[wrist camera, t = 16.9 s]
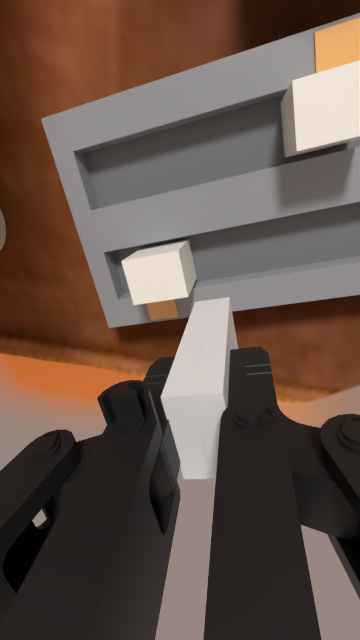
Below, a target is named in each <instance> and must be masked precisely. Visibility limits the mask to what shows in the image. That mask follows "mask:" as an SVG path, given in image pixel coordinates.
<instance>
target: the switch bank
mask: <svg viewBox="0 0 360 640" xmlns="http://www.w3.org/2000/svg"><path fill="white" fill-rule="evenodd" d="M359 60H360V13H358V14H355V15H352V16H349V17H346V18H343V19H340V20H337V21H334V22H331V23H328V24H325V25H322V26H319V27H316V28H313V29H310V30H307V31H304V32H301V33H298V34H295V35H291V36H288V37H285V38H282V39H279V40H276V41H273V42H270V43H267V44H264V45H261V46H258V47H255V48H252V49H249V50H246V51H243V52H240V53H237V54H234V55H231V56H228V57H225V58H222V59H219V60H216V61H213V62H210V63H207V64H204V65H201V66H198V67H195V68H192V69H189V70H186V71H183V72H180V73H177V74H174V75H171V76H168V77H165V78H162V79H159V80H156V81H153V82H150V83H147V84H144V85H141V86H138V87H135V88H132V89H129V90H126V91H123V92H120V93H117V94H114V95H111V96H108V97H105V98H102V99H99V100H96V101H93V102H90V103H87V104H84V105H81V106H78V107H75V108H72V109H69V110H66V111H63V112H60V113H57V114H54V115H51V116H48V117H45V118H42V119H41V121H42V124H43V127H44V130H45V133H46V136H47V139H48V142H49V145H50V148H51V151H52V154H53V158H54V161H55V164H56V167H57V170H58V173H59V176H60V179H61V182H62V185H63V188H64V191H65V194H66V197H67V201H68V204H69V207H70V210H71V213H72V216H73V219H74V222H75V225H76V228H77V231H78V234H79V237H80V240H81V244H82V247H83V250H84V253H85V256H86V259H87V262H88V265H89V268H90V271H91V274H92V277H93V280H94V283H95V287H96V290H97V293H98V296H99V299H100V302H101V305H102V308H103V311H104V314H105V317H106V320H107V323H108V326H109V328H112V327H120V326H127V325H135V324H142V323H150V322H157V321H165V320H173V319H180V318H188V317H190V314H191V312H192V309H193V306H194V303H195V302H198V301H205V300H212V299H219V298H226V297H230V302H231V308H232V312H233V311H240V310H248V309H255V308H263V307H271V306H278V305H286V304H293V303H301V302H308V301H316V300H323V299H331V298H338V297H346V296H353V295H360V139H358V140H355V141H353V142H350V143H346V144H342V145H338V146H334V147H330V148H326V149H322V150H317V151H313V152H309V153H305V154H301V155H297V156H293V157H288V158H284V145H283V132H282V119H281V107H280V103H281V101H282V99H283V97H284V95H285V93H286V91H287V89H288V88H289V86H290V84H291V82H292V80H295V79H299V78H302V77H305V76H309V75H312V74H315V73H319V72H322V71H325V70H329V69H332V68H335V67H339V66H342V65H345V64H349V63H352V62H355V61H359ZM185 239H189V241H190V246H191V251H192V256H193V261H194V266H195V271H196V276H197V279H196V281H195V283H194V285H193V288H192V290H191V292H190V294H189V297H186V298H179V299H172V300H165V301H159V302H152V303H145V304H139V305H134V304H133V301H132V297H131V294H130V290H129V287H128V283H127V280H126V276H125V273H124V269H123V266H122V262H121V261H122V260H124V259H125V258H127V257H129V256H130V255H132V254H133V253H135V252H136V251H138V250H139V249H141V248H144V247H149V246H154V245H159V244H165V243H170V242H175V241H180V240H185Z"/></svg>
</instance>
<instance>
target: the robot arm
mask: <svg viewBox="0 0 360 640" xmlns="http://www.w3.org/2000/svg"><path fill="white" fill-rule="evenodd" d="M97 399H98V402H99V405H100V407H101V410H102V412H103V415H104V418H105V420H106V423H107V426H106V428H105V430H104V432H103V434H101V435H99V436H95V437H92V438H88V439H85V440H82V441H78V442H76V441H75V438H74V436H73V434H72V432H70V431H68V430H55V431H51V432H48V433H46V434H44V435H42V436H40V437H38V438H37V439H35V440H34V441H33V442H31V443H30V444H29V445H28V446H26V447H25V448H24V449H23V450H22V451H21V452H20V453H19V454H18V455H17V456H16V457H15V458H14V459H13V460H12V461H11V462H10V463H8V464H7V465H6V466H5V467H4V468H3V469H2V470H1V471H0V640H155V635H156V630H157V624H158V619H159V613H160V608H161V602H162V596H163V591H164V585H165V580H166V574H167V569H168V563H169V557H170V552H171V547H172V541H173V535H174V530H175V524H176V518H177V513H178V508H179V502H180V489H179V486H178V482H177V477H178V472H179V467H181V470H182V474H183V478H184V479H216V485H215V498H214V511H213V524H212V537H211V550H210V563H209V576H208V589H207V602H206V615H205V628H204V629H205V630H204V640H321V636H320V630H319V625H318V619H317V613H316V609H315V602H314V597H313V592H312V586H311V580H310V575H309V569H308V563H307V558H306V553H305V548H304V542H303V536H302V531H301V525H304V526H307V527H309V528H313V529H315V530H318V531H321V532H324V533H326V534H328V537H329V539H330V541H331V543H332V545H333V547H334V549H335V551H336V553H337V555H338V557H339V559H340V561H341V563H342V565H343V567H344V569H345V571H346V573H347V575H348V577H349V578H350V581H351V583H352V585H353V587H354V589H355V591H356V593H357V594H358V597H359V598H360V415H357V414H345V415H338V416H335V417H333V418H330V419H328V420H327V421H326V422H325V423H324V424H323V425H322V427H321V428H318V427H312V426H307V425H304V424H300V423H297V422H295V421H293V420H291V419H289V418H288V417H286V416H285V415H284V414H283V413H282V412H281V411H280V409H279V407H278V404H277V399H276V394H275V388H274V383H273V377H272V372H271V366H270V360H269V355H268V353H267V352H266V351H265V350H264V349H263V348H261V347H251V348H241V349H238V345H237V339H236V333H235V327H234V321H233V314H232V308H231V302H230V297H226V298H219V299H212V300H205V301H198V302H195V303H194V306H193V309H192V312H191V314H190V317H189V320H188V323H187V326H186V328H185V331H184V334H183V337H182V339H181V342H180V345H179V348H178V350H177V353H176V356H174V357H165V358H159V359H158V360H157V361H156V362H154V363H153V364H152V365H151V366H150V368H149V370H148V372H147V374H146V377H145V378H144V380H143V382H142V381H139V380H130V381H125V382H121V383H118V384H115V385H113V386H111V387H110V388H108V389H106V390H105V391H103V392H102V394H101V395H100V396H99V397H98V398H97ZM41 509H42V511H43V512H44V514H45V516H46V518H47V519H46V521H45V522H44V523H42V524H41V525H40V526H38V527H35V525H34V523H33V521H32V520H33V519H34V517H35V516H36V515H37V513H38V512H39V511H40V510H41ZM300 524H301V525H300Z"/></svg>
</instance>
